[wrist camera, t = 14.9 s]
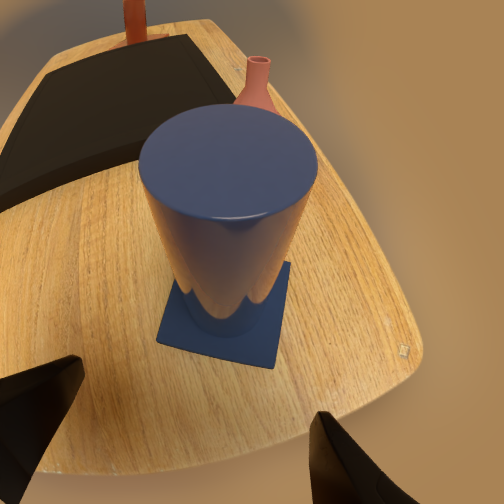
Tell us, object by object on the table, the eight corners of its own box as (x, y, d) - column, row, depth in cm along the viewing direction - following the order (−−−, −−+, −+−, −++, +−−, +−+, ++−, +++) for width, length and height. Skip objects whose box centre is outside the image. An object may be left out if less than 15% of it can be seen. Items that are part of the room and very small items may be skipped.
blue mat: (272, 369, 17) (274, 368, 17) (157, 342, 17) (155, 341, 17) (289, 265, 21) (291, 261, 21) (188, 244, 21) (187, 240, 21)
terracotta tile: (146, 49, 44) (146, 47, 44) (104, 54, 44) (104, 52, 44) (169, 35, 50) (169, 33, 50) (130, 38, 50) (129, 36, 50)
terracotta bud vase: (302, 181, 26) (336, 70, 15) (249, 227, 23) (267, 94, 12) (244, 143, 28) (254, 39, 17) (188, 178, 25) (177, 59, 14)
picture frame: (-9, 217, 21) (249, 135, 29) (-19, 205, 19) (250, 118, 27) (48, 82, 38) (186, 42, 46) (46, 74, 36) (186, 33, 44)
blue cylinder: (227, 354, 17) (229, 263, 6) (173, 301, 18) (107, 153, 7) (279, 299, 19) (348, 154, 8) (225, 254, 20) (228, 90, 9)
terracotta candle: (141, 43, 45) (136, -21, 30) (123, 45, 45) (117, -16, 30) (151, 37, 48) (148, -23, 32) (133, 39, 48) (129, -19, 32)
